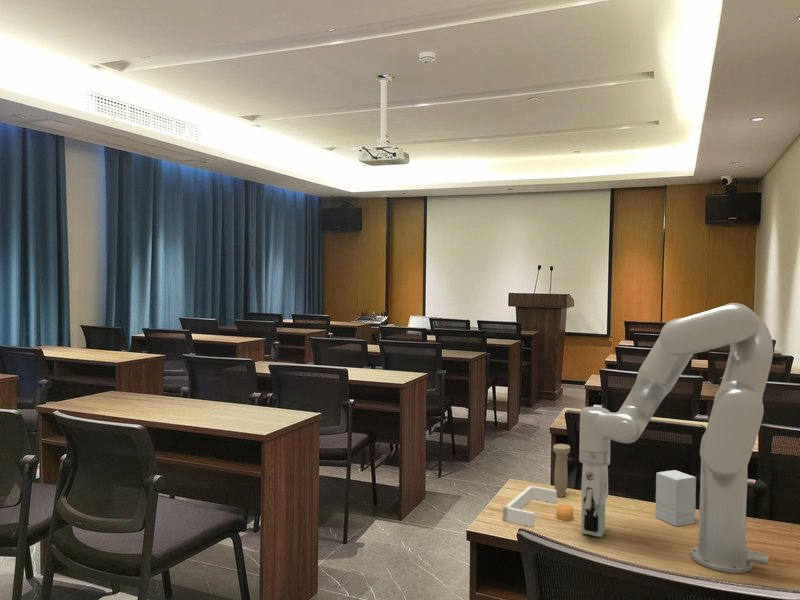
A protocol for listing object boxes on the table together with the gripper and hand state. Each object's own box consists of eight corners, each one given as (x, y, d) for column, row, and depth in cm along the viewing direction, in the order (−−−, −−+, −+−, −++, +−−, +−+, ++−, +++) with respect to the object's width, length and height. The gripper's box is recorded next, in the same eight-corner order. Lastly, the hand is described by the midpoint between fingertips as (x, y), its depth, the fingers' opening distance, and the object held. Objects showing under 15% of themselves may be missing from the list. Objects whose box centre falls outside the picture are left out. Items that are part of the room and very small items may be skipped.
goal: (556, 502, 176) (556, 490, 176) (532, 527, 157) (533, 513, 157) (529, 496, 180) (529, 485, 180) (503, 520, 161) (503, 507, 161)
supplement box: (696, 523, 162) (697, 477, 162) (675, 527, 159) (676, 479, 159) (674, 513, 169) (675, 469, 169) (654, 517, 166) (655, 471, 166)
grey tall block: (604, 531, 153) (605, 500, 153) (601, 537, 150) (602, 505, 150) (584, 527, 156) (585, 497, 156) (581, 532, 153) (581, 501, 152)
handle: (570, 494, 184) (572, 445, 184) (566, 500, 178) (567, 450, 178) (555, 491, 186) (556, 443, 186) (549, 497, 180) (551, 447, 180)
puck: (574, 517, 165) (575, 506, 165) (570, 522, 161) (570, 511, 161) (558, 514, 167) (559, 503, 167) (554, 519, 163) (554, 508, 163)
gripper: (602, 466, 144) (601, 542, 144) (616, 451, 158) (614, 520, 158) (571, 461, 147) (569, 535, 148) (587, 447, 162) (585, 514, 162)
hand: (593, 526), depth 153 cm, fingers closed on grey tall block, 4 cm apart
